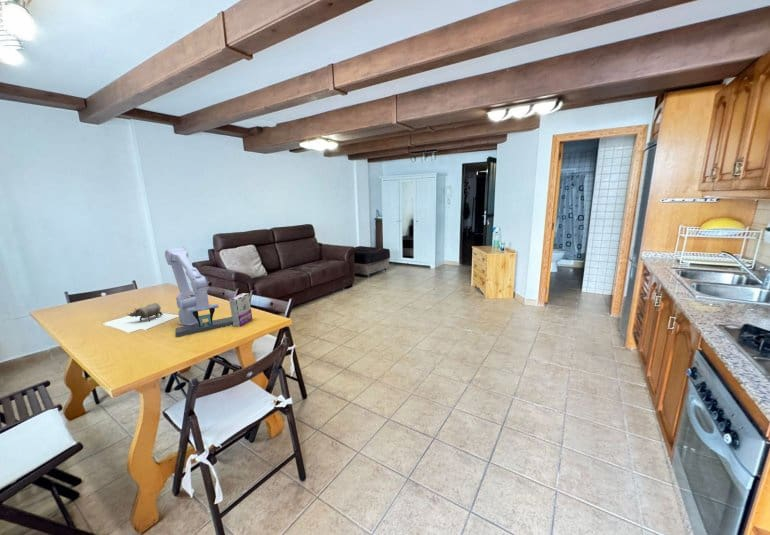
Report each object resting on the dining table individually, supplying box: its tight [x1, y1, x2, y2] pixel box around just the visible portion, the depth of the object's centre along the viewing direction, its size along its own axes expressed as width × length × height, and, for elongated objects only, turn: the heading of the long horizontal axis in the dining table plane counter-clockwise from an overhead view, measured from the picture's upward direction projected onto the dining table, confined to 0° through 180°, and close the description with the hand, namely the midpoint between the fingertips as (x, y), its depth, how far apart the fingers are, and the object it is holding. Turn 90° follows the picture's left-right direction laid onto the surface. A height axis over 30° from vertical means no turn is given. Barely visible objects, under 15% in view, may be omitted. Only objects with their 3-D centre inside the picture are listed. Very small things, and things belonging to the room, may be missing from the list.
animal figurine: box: [125, 302, 164, 321], centre depth 180 cm, size 8×14×15 cm
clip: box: [199, 313, 211, 326], centre depth 165 cm, size 5×2×6 cm, turn 124°
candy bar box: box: [228, 292, 253, 328], centre depth 171 cm, size 11×5×16 cm, turn 168°
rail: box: [174, 316, 233, 338], centre depth 166 cm, size 28×8×2 cm, turn 124°
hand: (205, 322), depth 165 cm, fingers closed on clip, 5 cm apart
